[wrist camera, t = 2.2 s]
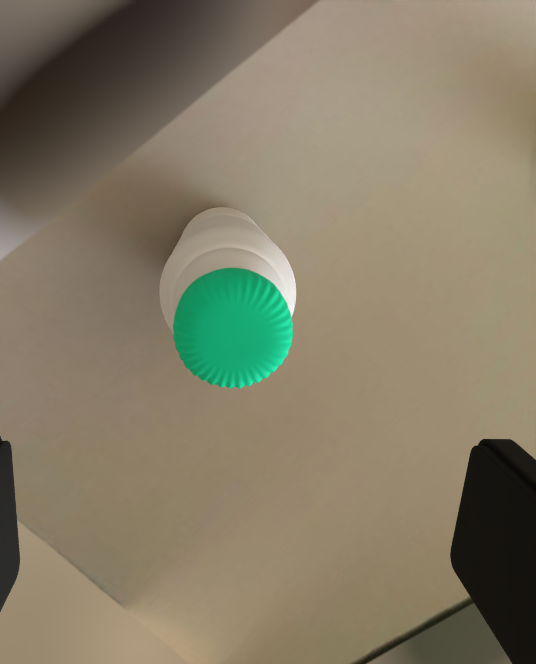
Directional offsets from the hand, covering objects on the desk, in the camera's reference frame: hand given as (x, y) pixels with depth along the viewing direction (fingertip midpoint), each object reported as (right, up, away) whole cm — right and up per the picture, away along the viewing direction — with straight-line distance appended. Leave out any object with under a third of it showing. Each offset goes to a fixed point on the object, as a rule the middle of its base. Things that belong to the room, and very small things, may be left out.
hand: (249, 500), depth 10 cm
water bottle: (-4, +11, +33) cm, 35 cm away
